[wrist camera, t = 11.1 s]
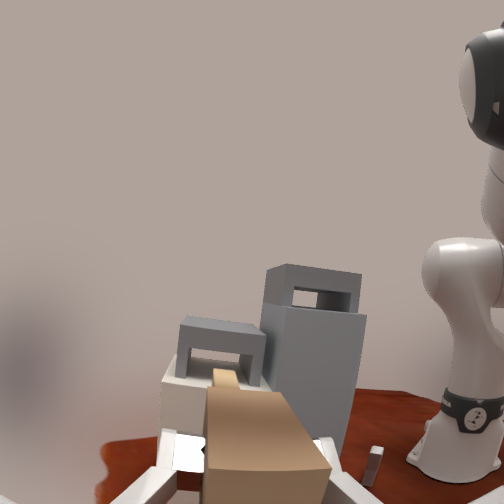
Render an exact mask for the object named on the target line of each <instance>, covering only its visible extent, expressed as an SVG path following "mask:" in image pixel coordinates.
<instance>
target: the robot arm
mask: <svg viewBox="0 0 504 504" xmlns="http://www.w3.org/2000/svg"><path fill="white" fill-rule="evenodd" d="M459 89H460V95H461V100H462V104H463V107H464V109H465V112H466V114H467V117H468V122H469V125H470V127H471V129H472V130H473V132H474V133H475V135H476V136H477V137H478V138H479V139H480V140H482V141H484V142H486V143H488V144H489V145H491V151H490V157H489V164H488V169H487V175H486V180H485V185H484V190H483V195H482V200H481V211H482V216H483V220H484V222H485V224H486V226H487V227H488V229H489V230H490V231H491V233H492V234H493V236H494V237H495V238H496V239H494V240H492V239H480V238H468V237H457V238H449V239H444V240H437V241H435V242H434V243H433V244H432V246H431V247H430V248H429V249H428V251H427V253H426V255H425V257H424V260H423V264H422V280H423V284H424V287H425V289H426V291H427V293H428V294H429V296H430V297H431V298H432V299H433V300H434V301H435V302H436V303H437V304H438V305H439V306H440V308H441V309H442V310H443V312H444V314H445V315H446V317H447V319H448V322H449V324H450V327H451V330H452V335H453V359H452V367H451V373H450V379H449V384H448V387H447V388H446V389H445V392H444V395H443V397H442V403H441V407H440V408H441V410H440V412H439V413H438V414H437V415H436V416H435V417H433V419H432V420H427V422H426V424H425V427H424V431H426V433H425V435H424V436H423V437H422V438H421V440H420V441H419V442H418V443H417V445H416V446H415V447H414V448H413V450H412V451H411V452H410V453H409V454H408V456H407V458H406V461H407V462H409V463H410V464H413V465H415V466H417V467H418V468H419V469H420V470H421V471H422V472H424V473H425V474H427V475H428V476H430V477H432V478H435V479H437V480H441V481H445V482H452V483H466V482H472V481H476V480H479V479H481V478H483V477H484V476H486V475H487V474H488V473H489V472H491V471H494V470H497V469H499V468H500V465H501V461H500V460H499V458H498V457H497V455H498V452H499V449H500V446H501V442H502V439H503V435H504V422H503V421H502V419H501V416H502V414H503V411H504V334H503V333H502V332H500V331H499V330H498V329H496V328H495V327H494V326H493V323H492V321H491V315H490V308H491V307H493V308H504V22H503V23H502V25H501V27H500V29H498V30H492V31H487V32H484V33H480V34H479V35H478V36H476V37H475V38H474V39H473V40H472V41H470V42H469V43H468V44H467V45H466V49H465V55H464V57H463V60H462V62H461V66H460V72H459ZM312 440H313V441H314V443H315V444H316V446H317V447H318V448H319V450H320V451H321V453H322V454H323V456H324V457H325V458H326V460H327V461H328V463H329V464H330V465H331V467H332V471H331V474H330V478H329V481H328V484H327V487H326V490H325V493H324V496H323V499H322V502H321V504H383V503H382V502H381V501H379V500H378V499H377V498H376V497H375V496H373V495H372V494H371V493H370V492H369V491H367V490H366V489H365V488H364V487H363V486H361V485H360V484H359V483H358V482H357V481H356V480H355V479H353V478H352V477H351V476H350V475H349V474H348V473H347V472H342V469H341V465H340V462H339V458H338V455H337V451H336V448H335V444H334V441H333V439H332V438H331V437H322V438H317V437H316V438H312ZM204 448H205V434H200V433H192V432H185V431H178V430H172V429H166V428H163V429H162V432H161V437H160V443H159V449H158V455H157V462H156V467H153V466H151V467H150V468H149V469H148V470H147V471H146V472H145V473H144V474H143V475H142V476H141V477H139V478H138V479H137V480H136V481H135V482H134V483H133V484H132V485H131V486H129V487H128V488H127V489H126V490H125V491H124V492H123V493H122V494H120V495H119V496H118V497H117V498H116V499H115V500H113V501H112V502H111V503H110V504H166V503H167V502H168V501H169V500H170V499H171V498H172V497H173V495H174V494H175V493H176V492H177V490H183V491H193V492H201V486H202V480H203V474H204ZM0 504H18V503H16V502H14V501H12V500H10V499H8V498H6V497H4V496H2V495H0ZM468 504H504V485H503V486H500V487H498V488H497V489H495V490H493V491H491V492H489V493H488V494H486V495H484V496H482V497H480V498H478V499H476V500H474V501H472V502H470V503H468Z"/></svg>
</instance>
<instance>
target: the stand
mask: <svg viewBox="0 0 504 504" xmlns="http://www.w3.org/2000/svg"><path fill="white" fill-rule="evenodd" d="M361 278H362V274H357V273H350V272H342V271H335V270H328V269H321V268H314V267H307V266H300V265H293V264H284V265H281V266H278V267H275V268H272V269H269V270H267V274H266V282H265V290H264V298H263V306H262V313H261V321H260V329H258V328H256V327H255V326H254V325H253V324H247V323H239V322H231V321H223V320H215V319H208V318H201V317H194V316H187V317H186V318H185V319H184V321H183V322H182V323H181V324H180V331H179V340H178V350H177V355H174V357H173V359H172V361H171V363H170V365H169V367H168V369H167V371H166V373H165V375H164V377H163V379H162V381H161V392H160V405H159V421H158V442H157V455H158V449H159V443H160V437H161V432H162V429H163V428H166V429H172V430H178V431H185V432H192V433H200V434H202V432H203V423H204V413H205V403H206V394H207V386H210V387H211V386H212V377H213V368H215V369H224V370H233V371H235V374H236V377H237V380H238V384H239V387H240V390H252V391H267V392H281V394H282V395H283V397H284V398H285V400H286V402H287V403H288V405H289V406H290V408H291V409H292V411H293V412H294V413H295V415H296V416H297V418H298V419H299V421H300V422H301V424H302V425H303V427H304V428H305V430H306V431H307V433H308V434H309V436H310V437H311V438H316V437H317V438H322V437H331V438H332V439H333V441H334V444H335V448H336V451H337V455H338V458H339V457H340V453H341V450H342V446H343V442H344V438H345V434H346V429H347V425H348V421H349V416H350V412H351V407H352V402H353V398H354V393H355V387H356V381H357V377H358V371H359V365H360V359H361V353H362V347H363V340H364V332H365V325H366V318H367V315H364V314H358V306H359V297H360V288H361ZM294 290H301V291H310V292H318V296H317V304H316V308H312V307H302V306H294V305H292V301H293V292H294ZM192 348H197V349H204V350H211V351H219V352H228V353H236V354H240V358H239V363H236V362H227V361H218V360H211V359H203V358H196V357H191V349H192ZM166 504H199V492H193V491H183V490H177V492H176V493H175V494H174V495H173V497H172V498H171V499H170V500H169V501H168V502H167V503H166Z"/></svg>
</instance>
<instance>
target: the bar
mask: <svg viewBox="0 0 504 504" xmlns="http://www.w3.org/2000/svg"><path fill="white" fill-rule="evenodd" d="M202 434H205V448H204V474H203V480H202V486H201V492H199V504H321V502H322V499H323V496H324V493H325V490H326V487H327V484H328V481H329V478H330V474H331V471H332V467H331V465H330V464H329V463H328V461H327V460H326V458H325V457H324V456H323V454H322V453H321V451H320V450H319V448H318V447H317V446H316V444H315V443H314V441H313V440H312V438H311V437H310V436H309V434H308V433H307V431H306V430H305V428H304V427H303V425H302V424H301V422H300V421H299V419H298V418H297V416H296V415H295V413H294V412H293V411H292V409H291V408H290V406H289V405H288V403H287V402H286V400H285V398H284V397H283V395H282V394H281V392H267V391H252V390H240V387H239V384H238V380H237V377H236V374H235V371H233V370H224V369H215V368H213V377H212V386H211V387H210V386H207V394H206V403H205V413H204V423H203V432H202Z"/></svg>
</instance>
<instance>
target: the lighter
mask: <svg viewBox="0 0 504 504" xmlns="http://www.w3.org/2000/svg"><path fill="white" fill-rule="evenodd" d="M383 450H384V448H383V447H377V446H372V448H371V451H370V454H369V458H368V462H367V465H366V471H365V474H364V477H363V480H362V483H361V485H363V486H369V487H372V485H373V482H374V479H375V477H376V474H377V471H378V468H379V465H380V461H381V458H382V455H383Z"/></svg>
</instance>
